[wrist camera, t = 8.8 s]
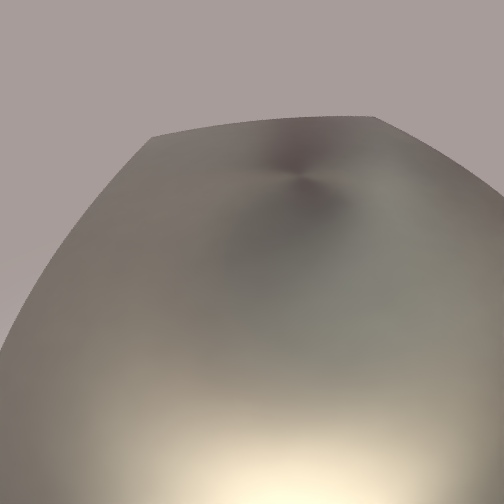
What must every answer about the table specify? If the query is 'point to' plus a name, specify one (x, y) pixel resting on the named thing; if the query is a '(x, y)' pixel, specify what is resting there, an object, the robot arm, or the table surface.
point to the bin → (266, 328)
